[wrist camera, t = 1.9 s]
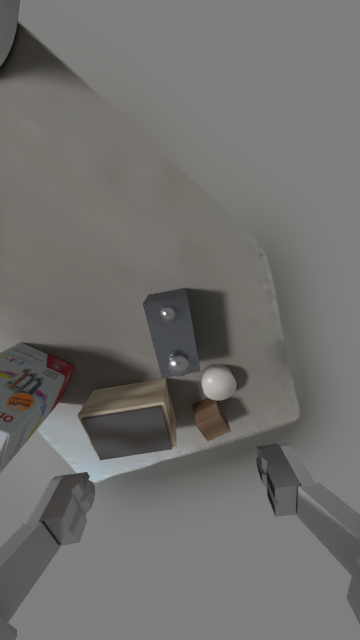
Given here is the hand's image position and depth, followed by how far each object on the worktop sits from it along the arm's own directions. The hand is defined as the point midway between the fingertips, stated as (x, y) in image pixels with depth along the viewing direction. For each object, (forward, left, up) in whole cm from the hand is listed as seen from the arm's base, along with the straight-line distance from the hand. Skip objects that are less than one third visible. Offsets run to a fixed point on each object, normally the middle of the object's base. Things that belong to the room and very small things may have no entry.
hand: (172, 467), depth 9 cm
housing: (0, 0, -19) cm, 19 cm away
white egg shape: (+10, +5, -19) cm, 22 cm away
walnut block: (+16, +3, -19) cm, 25 cm away
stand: (+13, -9, -19) cm, 24 cm away
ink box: (+4, -22, -19) cm, 29 cm away
